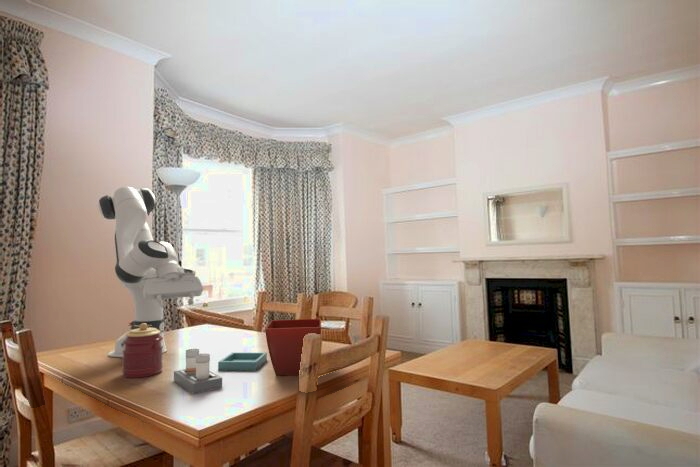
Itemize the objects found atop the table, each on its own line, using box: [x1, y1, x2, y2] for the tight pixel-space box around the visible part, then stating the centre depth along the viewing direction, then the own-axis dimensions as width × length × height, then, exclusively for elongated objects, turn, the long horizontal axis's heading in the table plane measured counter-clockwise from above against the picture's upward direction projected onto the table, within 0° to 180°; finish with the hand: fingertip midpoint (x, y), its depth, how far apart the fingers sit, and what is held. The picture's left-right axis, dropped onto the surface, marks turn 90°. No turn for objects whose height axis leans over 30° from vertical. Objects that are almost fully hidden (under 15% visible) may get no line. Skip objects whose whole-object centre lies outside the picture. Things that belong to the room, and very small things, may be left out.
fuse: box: [196, 352, 211, 381], centre depth 126 cm, size 4×4×10 cm
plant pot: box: [264, 318, 322, 376], centre depth 144 cm, size 19×19×17 cm
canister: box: [121, 323, 164, 379], centre depth 142 cm, size 13×13×18 cm
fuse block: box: [173, 368, 223, 395], centre depth 129 cm, size 18×9×3 cm, turn 41°
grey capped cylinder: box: [185, 348, 200, 375], centre depth 133 cm, size 4×4×10 cm
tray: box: [217, 352, 268, 372], centre depth 151 cm, size 14×14×3 cm
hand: (177, 305), depth 142 cm, fingers open, 8 cm apart
